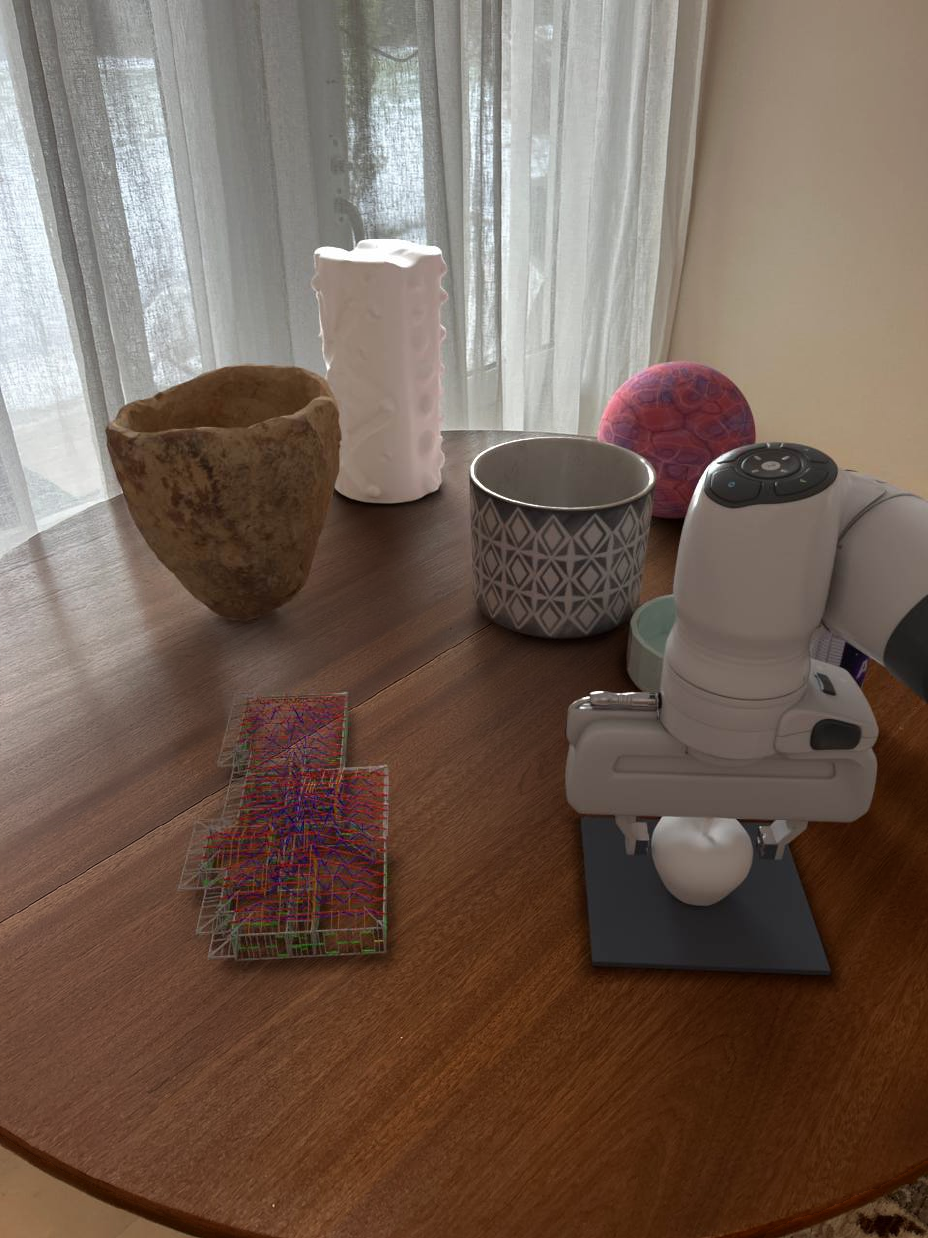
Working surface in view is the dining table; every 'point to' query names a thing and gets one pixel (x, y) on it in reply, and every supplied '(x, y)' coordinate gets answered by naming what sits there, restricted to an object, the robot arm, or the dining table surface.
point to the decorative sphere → (678, 426)
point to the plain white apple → (701, 857)
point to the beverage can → (840, 655)
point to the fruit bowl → (649, 641)
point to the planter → (559, 534)
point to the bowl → (232, 481)
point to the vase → (384, 365)
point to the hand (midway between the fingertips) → (701, 851)
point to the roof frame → (284, 864)
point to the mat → (695, 913)
